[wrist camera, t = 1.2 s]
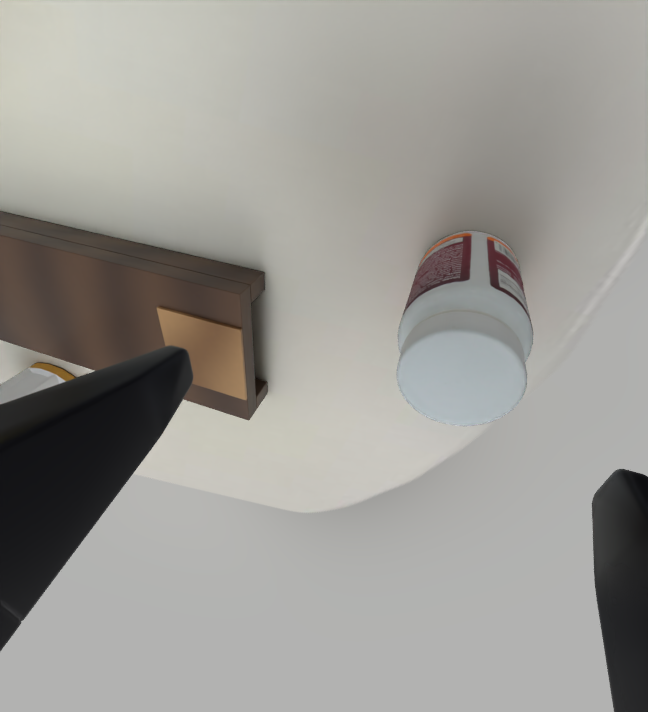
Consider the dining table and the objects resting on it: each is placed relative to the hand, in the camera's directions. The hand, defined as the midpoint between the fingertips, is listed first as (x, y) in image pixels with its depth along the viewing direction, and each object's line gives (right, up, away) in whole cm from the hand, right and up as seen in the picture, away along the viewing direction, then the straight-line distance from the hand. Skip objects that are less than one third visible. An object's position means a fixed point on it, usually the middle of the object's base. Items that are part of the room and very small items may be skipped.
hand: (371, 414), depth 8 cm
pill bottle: (+6, +5, +11) cm, 13 cm away
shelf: (-19, +6, +20) cm, 28 cm away
